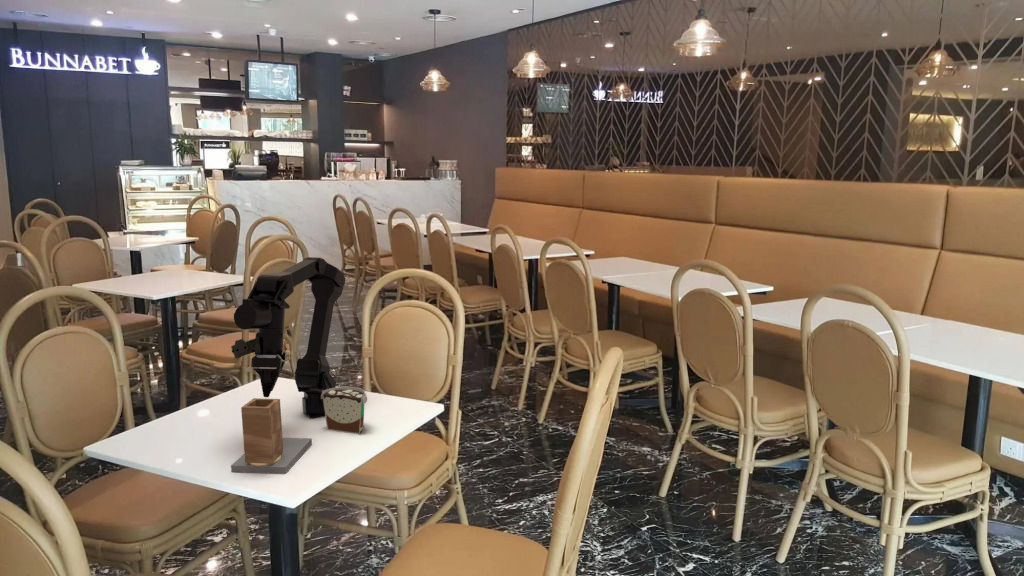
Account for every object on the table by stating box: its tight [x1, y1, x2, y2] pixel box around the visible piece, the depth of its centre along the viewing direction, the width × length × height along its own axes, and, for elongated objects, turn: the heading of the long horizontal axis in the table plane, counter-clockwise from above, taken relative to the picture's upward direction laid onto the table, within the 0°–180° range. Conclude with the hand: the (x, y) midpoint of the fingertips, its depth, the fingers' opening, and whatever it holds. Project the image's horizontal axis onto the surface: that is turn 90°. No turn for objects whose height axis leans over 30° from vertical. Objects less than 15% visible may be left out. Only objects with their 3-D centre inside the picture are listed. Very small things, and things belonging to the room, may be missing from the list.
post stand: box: [230, 437, 313, 475], centre depth 156 cm, size 16×12×5 cm
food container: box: [321, 386, 368, 435], centre depth 174 cm, size 12×6×10 cm, turn 71°
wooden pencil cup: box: [240, 398, 283, 464], centre depth 151 cm, size 6×6×12 cm
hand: (268, 394), depth 163 cm, fingers open, 9 cm apart
